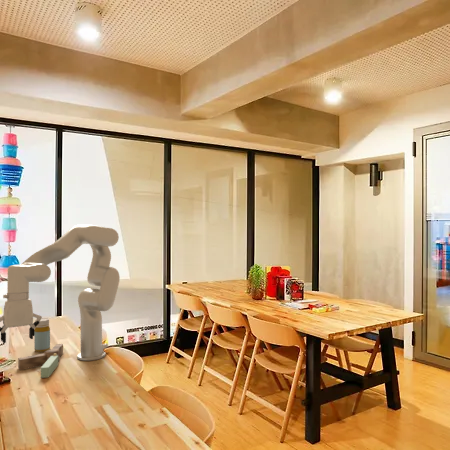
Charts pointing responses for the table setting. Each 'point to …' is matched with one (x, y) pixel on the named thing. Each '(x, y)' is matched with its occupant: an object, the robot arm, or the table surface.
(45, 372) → the hinged leg
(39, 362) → the brown angled wooden piece
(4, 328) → the robot arm
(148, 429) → the table surface
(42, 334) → the bottle
